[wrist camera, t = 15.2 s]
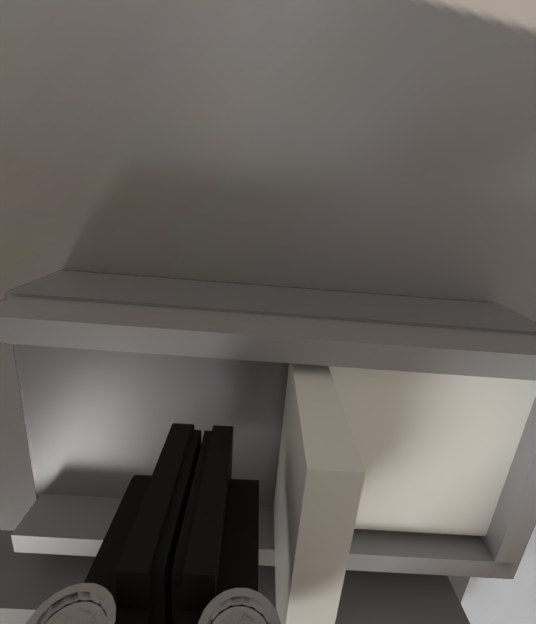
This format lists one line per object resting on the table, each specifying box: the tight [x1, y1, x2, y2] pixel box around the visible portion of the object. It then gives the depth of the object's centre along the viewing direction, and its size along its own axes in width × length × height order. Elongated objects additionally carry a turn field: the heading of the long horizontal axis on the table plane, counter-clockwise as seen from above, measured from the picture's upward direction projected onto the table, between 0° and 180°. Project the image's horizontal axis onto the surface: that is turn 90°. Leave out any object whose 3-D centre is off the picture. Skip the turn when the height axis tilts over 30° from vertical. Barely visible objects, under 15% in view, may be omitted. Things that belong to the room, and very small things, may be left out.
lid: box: [274, 363, 536, 624], centre depth 9 cm, size 7×6×5 cm
